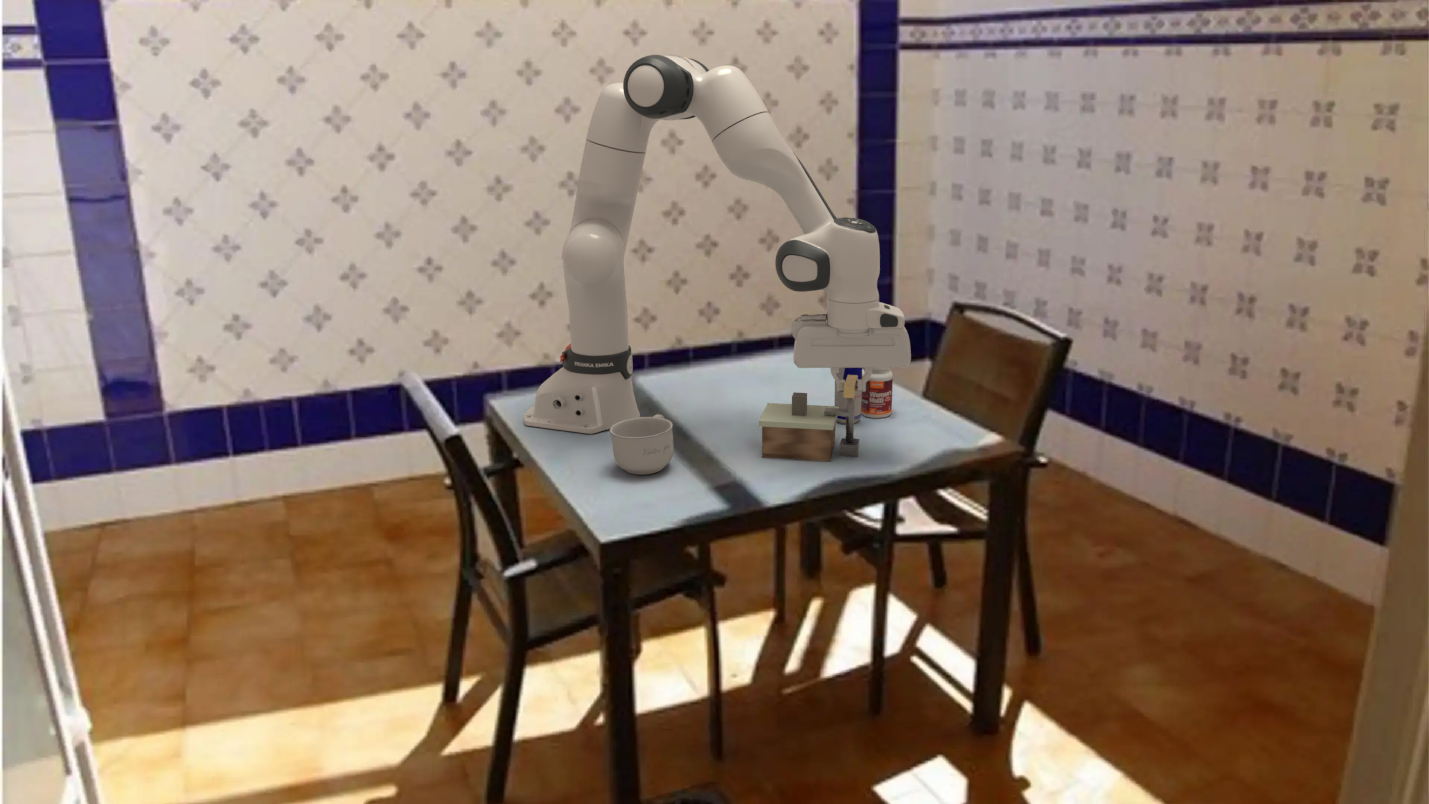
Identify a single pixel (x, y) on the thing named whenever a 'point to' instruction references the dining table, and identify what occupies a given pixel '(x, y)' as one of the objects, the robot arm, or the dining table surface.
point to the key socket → (849, 448)
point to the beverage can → (841, 400)
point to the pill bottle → (878, 393)
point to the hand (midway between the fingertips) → (850, 390)
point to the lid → (797, 415)
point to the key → (847, 406)
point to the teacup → (643, 444)
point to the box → (798, 443)
